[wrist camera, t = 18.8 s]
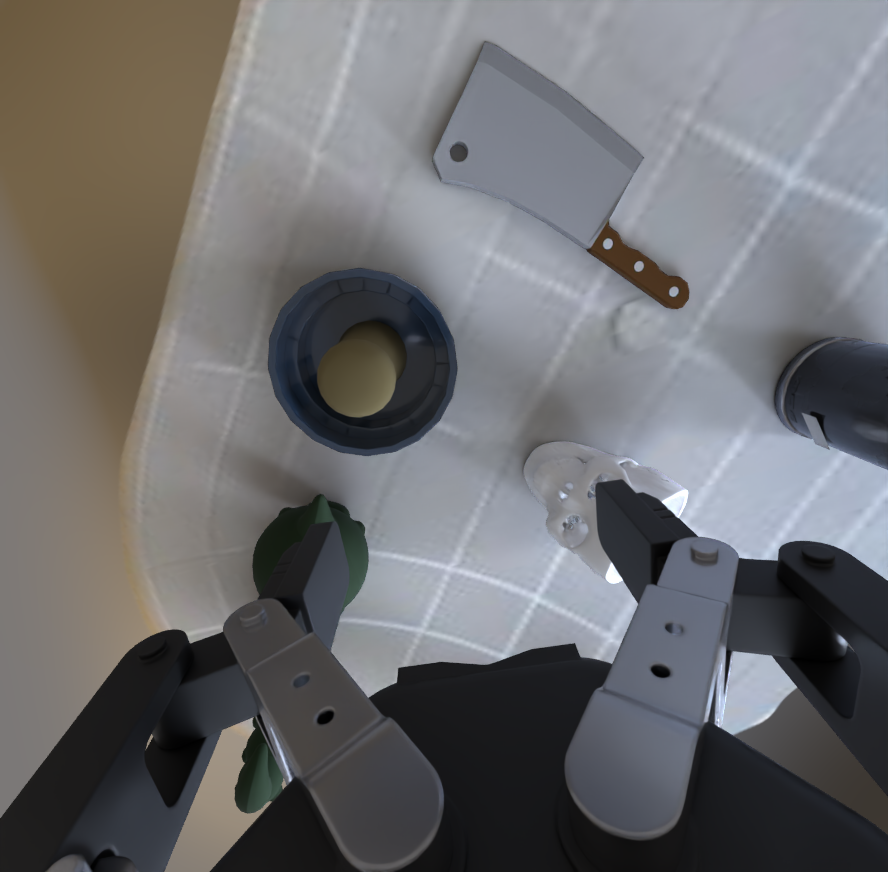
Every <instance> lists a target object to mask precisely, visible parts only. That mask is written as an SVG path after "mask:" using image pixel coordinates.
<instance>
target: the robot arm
mask: <svg viewBox="0 0 888 872" xmlns="http://www.w3.org/2000/svg"><path fill="white" fill-rule="evenodd" d="M775 405H776V411H777V414H778V416H779V418H780V420H781V422H782V423H783V424H784V425H785V426H786V427H787V428H788V429H789V430H791V431H792V432H794V433H797V434H799V435H801V436H804V437H807V438H810V439H813V440H814V442H815V444H817V445H819V446H822V447H824V448H827V449H829V447H828V446H831V447H833V448H836V449H838V450H840V451H843V452H845V453H848V454H850V455H853V456H855V457H858V458H860V459H862V460H865V461H867V462H870V463H872V464H875V465H877V466H880V467H882V468H885V469H887V470H888V345H887V344H880V343H873V342H866V341H863V340H860V339H854V338H846V337H833V338H828V339H824V340H821V341H819V342H816V343H814V344H812V345H811V346H809V347H807V348H806V349H804V350H803V351H802V352H800V353H799V354H798V355H797V356H796V357H795V358H794V359H793V360H792V361H791V362H790V364H789V365H788V366H787V367H786V369H785V371H784V372H783V374H782V376H781V378H780V380H779V383H778V386H777V390H776V396H775ZM829 450H830V449H829ZM595 495H596V515H597V531H598V536H599V540H600V543H601V546H602V548H603V550H604V551H605V553H606V555H607V556H608V558H609V559H610V561H611V562H612V564H613V565H614V567H615V569H616V570H617V572H618V573H619V575H620V576H621V578H622V579H623V581H624V583H625V584H626V586H627V587H628V589H629V590H630V592H631V593H632V595H633V596H634V598H635V600H636V601H637V603H638V606H637V608H636V611H635V613H634V615H633V618H632V620H631V622H630V625H629V627H628V629H627V632H626V634H625V636H624V638H623V641H622V643H621V645H620V648H619V650H618V652H617V655H616V657H615V659H614V662H613V664H611V663H608V662H604V661H600V660H596V659H590V658H582V657H580V655H579V653H578V650H577V648H576V645H575V643H573V644H566V645H559V646H552V647H545V648H538V649H531V650H528V651H525V652H523V653H520V654H517V655H514V656H512V657H509V658H506V659H503V660H501V661H498V662H495V663H492V664H489V665H477V664H464V663H450V662H437V663H430V664H423V665H416V666H408V667H401V668H398V678H397V683H395V684H393V685H390V686H388V687H386V688H384V689H382V690H380V691H379V692H377V693H375V694H374V695H372V696H371V697H369V698H368V697H367V696H366V694H365V693H364V692H363V691H362V690H361V688H360V687H359V686H358V685H357V683H356V682H355V681H354V680H353V679H352V677H351V676H350V675H349V674H348V672H347V671H346V670H345V669H344V668H343V666H342V665H341V664H340V663H339V661H338V660H337V659H336V658H335V656H334V655H333V654H332V653H331V652H330V650H331V647H332V643H333V640H334V636H335V632H336V629H337V625H338V622H339V618H340V615H341V611H342V607H343V604H344V600H345V597H346V593H347V589H348V586H349V566H348V562H347V558H346V554H345V550H344V546H343V542H342V538H341V534H340V530H339V527H338V524H337V523H336V522H335V521H331V522H325V523H318V524H311V525H310V526H309V528H308V530H307V532H306V534H305V536H304V538H303V540H302V542H297V543H294V544H293V545H292V546H291V547H290V548H288V549H287V550H286V551H285V552H284V553H283V554H282V556H281V558H280V560H279V562H278V563H277V566H276V567H275V569H274V571H273V572H272V575H271V576H270V578H269V579H268V581H267V583H266V585H265V587H264V588H263V590H262V592H261V594H260V596H259V597H258V599H257V600H256V601H253V602H250V603H248V604H246V605H244V606H242V607H241V608H239V609H238V610H236V611H235V612H234V613H232V614H231V615H230V616H229V618H228V619H227V620H226V622H225V624H224V626H223V632H221V633H219V634H216V635H213V636H210V637H208V638H205V639H202V640H199V641H196V642H194V643H191V644H190V643H189V640H188V638H187V635H186V633H185V632H184V631H182V630H167V631H163V632H160V633H157V634H154V635H152V636H150V637H148V638H146V639H145V640H143V641H141V642H140V643H138V644H137V645H135V646H134V647H133V648H132V649H130V650H129V651H128V652H127V653H126V654H125V656H124V657H123V658H122V659H121V661H120V662H119V663H118V665H117V666H116V667H115V669H114V670H113V671H112V673H111V674H110V675H109V676H108V678H107V679H106V680H105V682H104V683H103V684H102V686H101V687H100V688H99V690H98V691H97V692H96V694H95V695H94V696H93V698H92V699H91V700H90V702H89V703H88V704H87V705H86V707H85V708H84V709H83V711H82V712H81V713H80V715H79V716H78V717H77V719H76V720H75V721H74V722H73V724H72V725H71V726H70V728H69V729H68V730H67V732H66V733H65V734H64V736H63V737H62V738H61V739H60V741H59V742H58V744H57V745H56V746H55V747H54V749H53V750H52V751H51V753H50V754H49V756H48V757H47V758H46V759H45V761H44V762H43V763H42V764H41V766H40V767H39V768H38V770H37V771H36V772H35V774H34V775H33V776H32V778H31V779H30V780H29V781H28V783H27V784H26V785H25V787H24V788H23V789H22V791H21V792H20V794H19V795H18V796H17V797H16V799H15V800H14V801H13V803H12V804H11V805H10V806H9V808H8V809H7V810H6V812H5V813H4V814H3V816H2V817H1V818H0V872H164V871H165V868H166V866H167V864H168V861H169V859H170V856H171V854H172V851H173V849H174V847H175V844H176V842H177V839H178V837H179V834H180V832H181V830H182V827H183V825H184V822H185V820H186V817H187V815H188V813H189V810H190V807H191V805H192V803H193V800H194V798H195V795H196V793H197V791H198V788H199V786H200V783H201V781H202V778H203V776H204V774H205V771H206V769H207V766H208V764H209V761H210V759H211V757H212V754H213V751H214V749H215V747H216V744H217V741H218V740H219V737H220V735H221V732H222V730H223V729H226V728H228V727H231V726H233V725H235V724H238V723H240V722H243V721H245V720H247V719H250V718H252V717H256V720H257V722H258V724H259V726H260V728H261V731H262V733H263V735H264V737H265V739H266V741H267V743H268V745H269V747H270V750H271V752H272V754H273V756H274V758H275V760H276V762H277V764H278V767H279V769H280V771H281V773H282V775H283V778H284V780H285V782H286V785H287V786H286V787H285V788H284V789H283V790H282V791H281V793H280V794H279V795H278V796H277V797H276V798H275V799H274V800H273V801H272V803H271V804H270V805H269V806H268V807H267V808H266V809H265V810H264V812H263V813H262V814H261V815H260V816H259V817H258V818H257V819H256V821H255V822H254V823H253V824H252V825H251V826H250V827H249V828H248V829H247V831H246V832H245V833H244V834H243V835H242V836H241V837H240V838H239V839H238V841H237V842H236V843H235V844H234V845H233V846H232V847H231V849H230V850H229V851H228V852H227V853H226V854H225V855H224V856H223V857H222V858H221V860H220V861H219V862H218V863H217V864H216V866H214V867H213V869H212V870H211V871H210V872H888V835H887V834H886V833H885V832H883V831H882V830H881V829H880V828H878V827H877V826H876V825H875V824H873V823H872V822H870V821H869V820H867V819H866V818H864V817H863V816H861V815H860V814H858V813H857V812H856V811H854V810H852V809H851V808H849V807H847V806H846V805H844V804H843V803H841V802H839V801H838V800H836V799H835V798H833V797H831V796H830V795H828V794H826V793H825V792H823V791H822V790H820V789H818V788H817V787H815V786H814V785H812V784H810V783H809V782H807V781H805V780H804V779H802V778H801V777H799V776H797V775H796V774H794V773H793V772H791V771H789V770H788V769H786V768H785V767H783V766H781V765H780V764H778V763H776V762H775V761H773V760H771V759H770V758H768V757H767V756H765V755H764V754H762V753H760V752H759V751H757V750H755V749H754V748H752V747H751V746H749V745H747V744H746V743H744V742H742V741H741V740H739V739H738V738H736V737H735V736H733V735H731V734H730V733H728V732H726V731H725V730H723V729H722V722H723V714H724V708H725V701H726V695H727V689H728V683H729V677H730V670H731V664H732V658H733V651H737V652H745V653H754V654H763V655H772V656H773V658H774V659H775V660H776V662H777V663H778V664H779V665H780V667H781V668H782V669H783V670H784V671H785V673H786V674H787V675H788V676H789V677H790V679H791V680H792V681H793V682H794V684H795V685H796V686H797V687H798V688H799V689H800V691H801V692H802V693H803V694H804V696H805V697H806V698H807V699H808V701H809V702H810V703H811V704H812V705H813V707H814V708H815V709H816V710H817V711H818V713H819V714H820V715H821V716H822V718H823V719H824V720H825V721H826V722H827V723H828V725H829V726H830V727H831V728H832V730H833V731H834V732H835V733H836V735H837V736H838V737H839V738H840V739H841V741H842V742H843V743H844V744H845V745H846V747H847V748H848V749H849V750H850V752H851V753H852V754H853V755H854V756H855V757H856V759H857V760H858V761H859V762H860V764H861V765H862V766H863V767H864V769H865V770H866V771H867V772H868V773H869V775H870V776H871V777H872V778H873V779H874V780H875V782H876V783H877V784H878V785H879V787H880V788H881V789H882V790H883V792H884V793H885V794H886V795H887V796H888V581H887V580H886V579H884V578H883V577H882V576H880V575H879V574H877V573H876V572H874V571H873V570H872V569H870V568H869V567H867V566H866V565H865V564H863V563H862V562H860V561H859V560H858V559H856V558H855V557H853V556H852V555H850V554H849V553H847V552H845V551H843V550H841V549H839V548H837V547H834V546H831V545H828V544H823V543H819V542H812V541H794V542H789V543H786V544H784V545H782V546H781V547H780V549H779V554H778V561H774V560H754V559H742V558H739V556H738V553H737V552H736V551H735V550H734V549H733V548H732V547H731V546H729V545H728V544H726V543H724V542H721V541H718V540H715V539H711V538H705V537H698V536H697V535H696V534H695V533H694V532H693V531H692V530H691V529H690V528H688V527H687V526H686V525H685V524H684V523H683V522H682V521H681V520H680V519H679V518H678V517H676V516H675V514H674V513H673V512H672V511H671V510H670V509H669V510H668V508H667V507H666V506H665V505H664V504H663V503H662V502H661V501H660V500H659V499H658V498H655V497H653V496H651V495H649V494H646V493H644V492H640V493H636V492H635V491H634V490H633V489H632V488H631V487H630V486H629V485H628V484H627V483H626V482H625V481H624V480H623V479H619V480H612V481H605V482H598V483H597V484H596V487H595ZM848 643H849V644H850V646H851V647H852V648H853V649H854V651H855V652H854V651H853V650H852V649H851V648H850V647H848V646H847V644H848ZM151 734H152V735H153V738H152V740H151V742H150V744H149V745H148V747H147V749H146V746H147V742H148V740H149V738H150V736H151ZM145 750H146V751H145Z"/></svg>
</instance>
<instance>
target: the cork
mask: <svg viewBox="0 0 888 872" xmlns="http://www.w3.org/2000/svg"><path fill="white" fill-rule="evenodd" d="M406 358H407V353H406V349H405V345H404V343H403V341H402V339H401V337H400V336H399V334H398V333H397V332H396V331H394V330H393V329H392V328H391V327H390V326H388V325H386V324H383V323H381V322H377V321H364V322H359V323H356V324H355V325H353V326H351V327H350V328H348V329H347V330H346V331H345V333H344V334H343V335H342V336H341V338H340V340H339V343H338V344H336V345H335V346H333V347H331V348H330V349H329V350H328V351H327V352H326V354H325V355H324V356H323V357H322V359H321V361H320V364H319V367H318V370H317V383H318V387H319V390H320V393H321V395H322V397H323V398H324V400H325V401H326V403H327V404H328V405H329V406H330V407H331V408H333V409H334V410H335V411H336V412H338V413H341V414H343V415H346V416H350V417H364V416H368V415H372V414H374V413H376V412H378V411H379V410H381V409H383V408H384V406H385V405H386V404H387V403H388V402H389V401H390V399H391V397H392V395H393V392H394V390H395V383H396V381H397V380H398V379H399V378H400V377H401V376H402V373H403V371H404V369H405V367H406Z"/></svg>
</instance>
